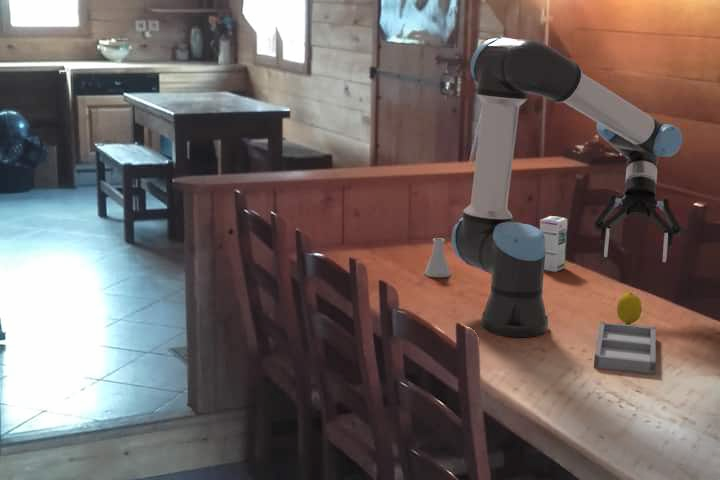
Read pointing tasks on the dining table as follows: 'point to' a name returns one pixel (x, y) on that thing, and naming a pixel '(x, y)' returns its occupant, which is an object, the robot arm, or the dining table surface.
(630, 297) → the lemon
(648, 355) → the grey divided tray
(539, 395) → the dining table surface
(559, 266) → the syrup box
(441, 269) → the flask
